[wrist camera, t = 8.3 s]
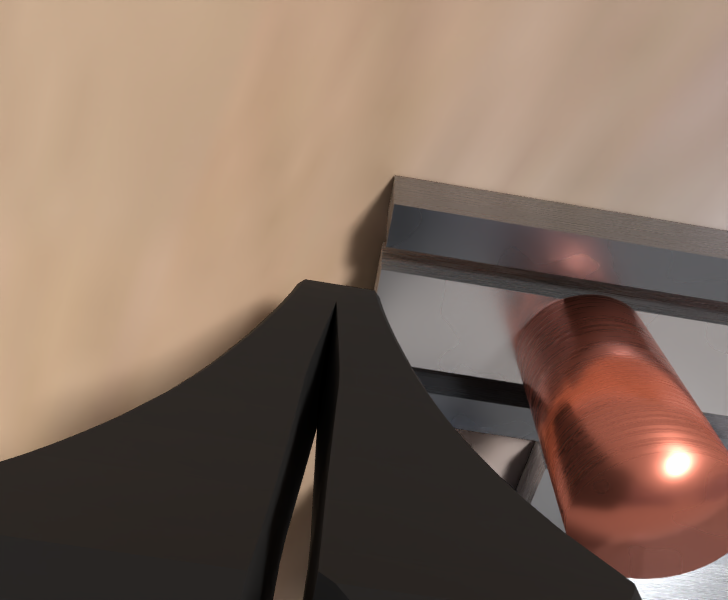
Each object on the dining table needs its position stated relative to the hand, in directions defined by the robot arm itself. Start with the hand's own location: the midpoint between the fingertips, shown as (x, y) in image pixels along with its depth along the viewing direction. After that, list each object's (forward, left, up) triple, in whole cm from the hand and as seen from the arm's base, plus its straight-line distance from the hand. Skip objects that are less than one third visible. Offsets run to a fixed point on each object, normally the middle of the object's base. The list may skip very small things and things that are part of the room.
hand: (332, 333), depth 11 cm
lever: (-5, 0, -2) cm, 5 cm away
